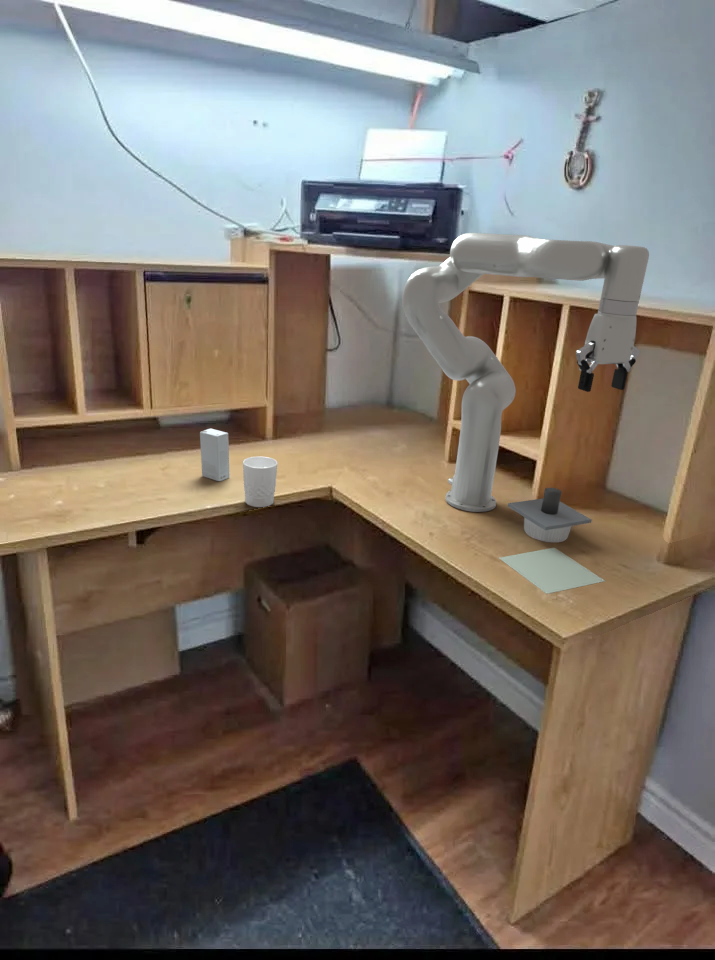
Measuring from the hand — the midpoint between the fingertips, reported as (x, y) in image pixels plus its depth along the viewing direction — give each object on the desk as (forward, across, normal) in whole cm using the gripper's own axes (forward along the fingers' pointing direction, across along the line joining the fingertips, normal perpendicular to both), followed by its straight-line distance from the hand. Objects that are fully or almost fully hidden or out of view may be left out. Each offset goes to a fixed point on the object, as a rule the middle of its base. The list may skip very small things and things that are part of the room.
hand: (600, 389), depth 144 cm
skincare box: (+34, +71, -53) cm, 95 cm away
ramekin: (+34, +9, +1) cm, 35 cm away
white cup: (+34, +65, -35) cm, 81 cm away
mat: (+33, +20, +15) cm, 41 cm away
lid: (+28, +9, +1) cm, 30 cm away
